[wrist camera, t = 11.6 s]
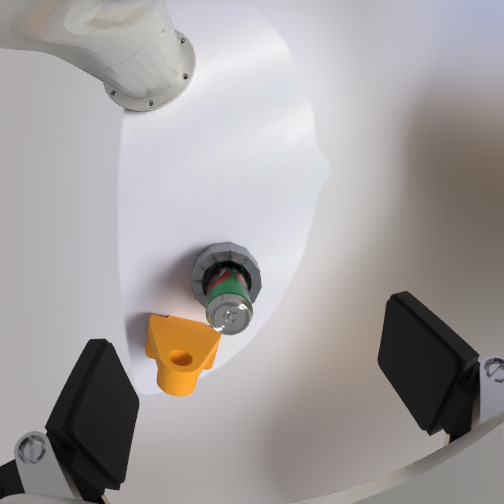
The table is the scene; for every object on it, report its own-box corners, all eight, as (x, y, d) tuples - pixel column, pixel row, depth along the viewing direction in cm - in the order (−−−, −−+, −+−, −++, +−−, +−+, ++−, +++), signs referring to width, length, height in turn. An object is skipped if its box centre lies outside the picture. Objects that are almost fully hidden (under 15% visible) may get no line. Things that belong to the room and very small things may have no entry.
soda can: (204, 284, 41) (200, 332, 29) (213, 251, 39) (212, 292, 28) (237, 292, 42) (245, 342, 30) (248, 261, 40) (260, 303, 29)
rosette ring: (188, 248, 39) (185, 256, 35) (253, 238, 39) (257, 246, 36) (200, 305, 42) (199, 317, 38) (260, 296, 42) (263, 308, 39)
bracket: (148, 346, 43) (133, 398, 32) (152, 311, 41) (135, 361, 30) (210, 360, 45) (211, 413, 34) (220, 326, 43) (222, 379, 32)
